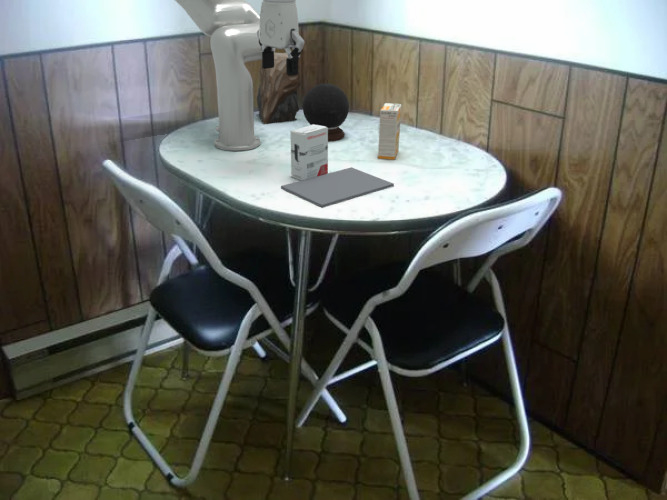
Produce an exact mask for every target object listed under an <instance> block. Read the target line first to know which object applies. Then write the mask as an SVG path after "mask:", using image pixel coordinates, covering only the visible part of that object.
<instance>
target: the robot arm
mask: <svg viewBox="0 0 667 500" xmlns="http://www.w3.org/2000/svg"><path fill="white" fill-rule="evenodd" d="M174 1H175V2H176V3H177V4H178V5H179V6H180V7H181V8H182V9H183V10H184V12H185V13H186V14H187V16H189V18H190V19H191V20H192V22H193V23H194V24H195V25H196V26H197V28H198V29H199V30H200V31H201V33H203V34H204V35H205V36H207V37H209V38H210V42H209V43H210V49H211V54H212V58H213V63H214V69H215V70H214V71H215V78H216V93H217V109H218V110H217V111H218V126H215V131H216V132H218V137H217V138H215V139H214V140H213V143H214V147H216V148H217V149H220V150H224V151H232V152H234V151H235V152H237V151H249V150H252V149H255V148H259V146H260V145H261V139H260V138H259V137H258V136H255V115H254V114H255V111H254V108H255V107H254V86H253V85H254V83H253V78H252V77H253V76H252V75H251V72H250V71H249V70H248V68H247V67H246V65H245V63H248V62H255V61H262V67H263V69H268V68H273V67H274V53H276V49H278V50H285V53H287V55H288V58H286V74H287V75H288V76H290V75H297V74H298V66H299V61H298V58H299V59H300V57H301V54H302V52H303V48H304V46H305V44H306V43H305V40H304V39H303V37H302V36H301V35H300V34H299V30H300V29H299V17H298V8H297V1H296V0H262V1H261V5H260V13H259V12H258V11H257V10H256V9H255V7H254V6H253V5H252V4H251V3H250V2H248V1H246V0H174Z"/></svg>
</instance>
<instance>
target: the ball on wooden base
mask: <svg viewBox="0 0 667 500" xmlns="http://www.w3.org/2000/svg"><path fill="white" fill-rule="evenodd" d="M349 103H350V102H349V100H348V97H347V95H346V93H345V92H344V91H343V90H342V89H341V88H340V87H339V86H337V85H336V84H331V83H319V84H317V85H314V86H313V87H312V88H310V89H309V90H308V91H307V93H306V95H305V97H304V99H303V102H302V113H303V115H304V118H305V120H306V122H307V123H309V126H310V125H313V124H314V125H320V126H325V127H327V128H328V143H329V142H336V141H337V142H338V141H340V140H343V139H345V136H346V133H345V132H344V130H343V129H342V128H340V126H342V124H344V123H345V121H346V120H347V118H348V115H349V110H350V104H349Z"/></svg>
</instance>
